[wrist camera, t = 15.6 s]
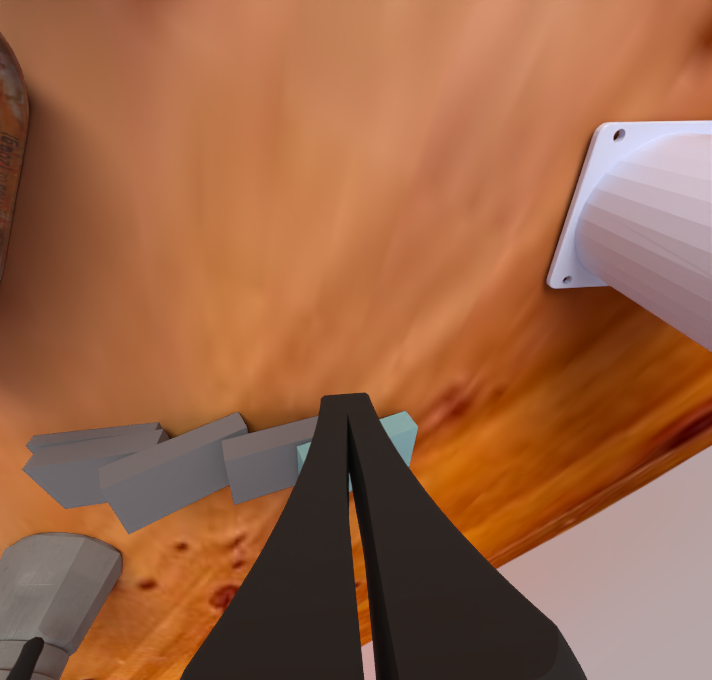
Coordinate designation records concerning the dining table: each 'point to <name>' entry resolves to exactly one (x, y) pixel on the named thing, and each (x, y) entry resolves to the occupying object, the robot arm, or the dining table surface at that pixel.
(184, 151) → the dining table surface
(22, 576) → the coffeepot
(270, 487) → the domino
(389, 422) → the teal domino
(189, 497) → the domino
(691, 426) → the dining table surface
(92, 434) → the domino
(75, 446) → the domino
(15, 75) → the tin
